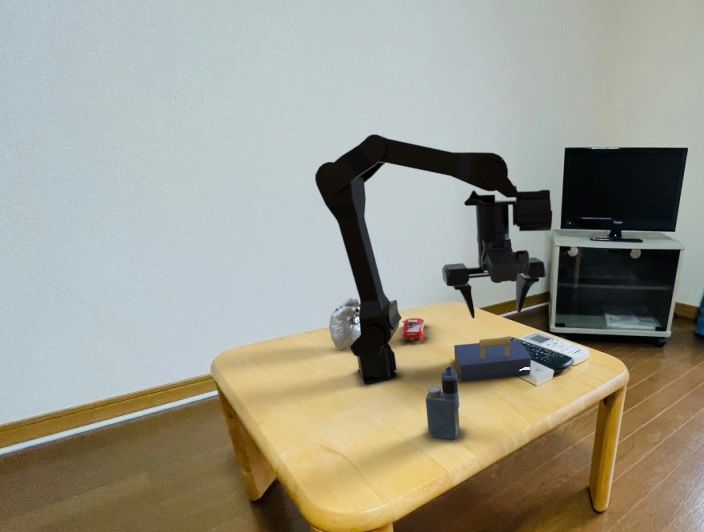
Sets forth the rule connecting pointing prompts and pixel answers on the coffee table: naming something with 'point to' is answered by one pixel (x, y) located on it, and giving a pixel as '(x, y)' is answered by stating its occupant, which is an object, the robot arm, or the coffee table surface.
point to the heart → (345, 324)
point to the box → (491, 370)
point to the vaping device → (444, 407)
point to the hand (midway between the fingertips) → (496, 315)
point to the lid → (491, 352)
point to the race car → (413, 329)
